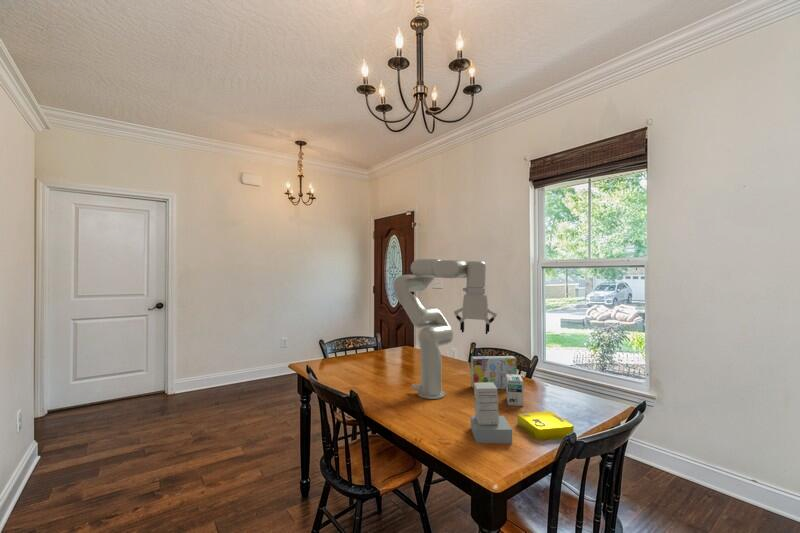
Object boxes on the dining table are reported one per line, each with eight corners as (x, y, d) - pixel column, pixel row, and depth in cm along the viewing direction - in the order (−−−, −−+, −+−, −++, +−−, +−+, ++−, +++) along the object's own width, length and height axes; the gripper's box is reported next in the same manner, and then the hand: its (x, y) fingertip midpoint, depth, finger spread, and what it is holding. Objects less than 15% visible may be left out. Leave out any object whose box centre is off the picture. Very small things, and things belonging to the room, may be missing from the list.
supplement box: (474, 417, 140) (473, 382, 140) (495, 416, 139) (493, 381, 140) (477, 425, 132) (476, 388, 133) (499, 424, 132) (497, 387, 132)
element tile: (576, 438, 134) (576, 424, 134) (537, 442, 131) (537, 428, 131) (550, 421, 148) (550, 409, 148) (515, 424, 145) (515, 412, 145)
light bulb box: (524, 406, 163) (524, 381, 163) (507, 405, 164) (507, 380, 164) (521, 398, 173) (521, 374, 173) (505, 397, 175) (505, 373, 175)
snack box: (513, 385, 192) (513, 355, 192) (516, 389, 186) (516, 358, 186) (470, 386, 191) (470, 355, 191) (473, 389, 185) (473, 358, 185)
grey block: (476, 444, 129) (476, 429, 129) (470, 429, 141) (470, 415, 141) (512, 444, 129) (512, 429, 129) (503, 429, 141) (503, 415, 141)
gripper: (453, 291, 157) (452, 332, 157) (497, 292, 152) (496, 336, 153) (455, 289, 164) (454, 329, 164) (497, 291, 159) (496, 332, 160)
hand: (474, 332), depth 159 cm, fingers open, 9 cm apart
